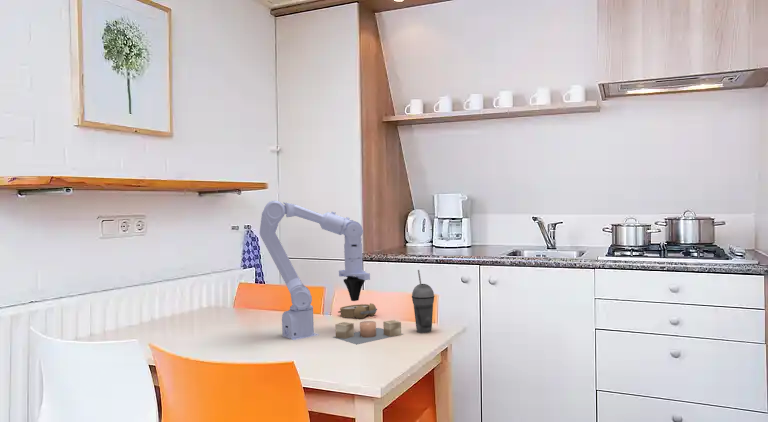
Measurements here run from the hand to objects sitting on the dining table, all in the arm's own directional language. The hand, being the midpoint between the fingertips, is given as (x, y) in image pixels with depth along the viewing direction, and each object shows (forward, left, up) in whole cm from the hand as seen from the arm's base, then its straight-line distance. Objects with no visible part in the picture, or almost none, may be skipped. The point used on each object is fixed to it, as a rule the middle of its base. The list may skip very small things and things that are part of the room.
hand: (354, 300), depth 190 cm
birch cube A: (-7, -4, -10) cm, 13 cm away
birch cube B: (+5, -13, -10) cm, 17 cm away
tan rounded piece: (-1, -8, -10) cm, 13 cm away
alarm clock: (+17, +22, -11) cm, 30 cm away
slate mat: (-1, -8, -10) cm, 13 cm away
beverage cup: (+15, -16, -11) cm, 24 cm away
